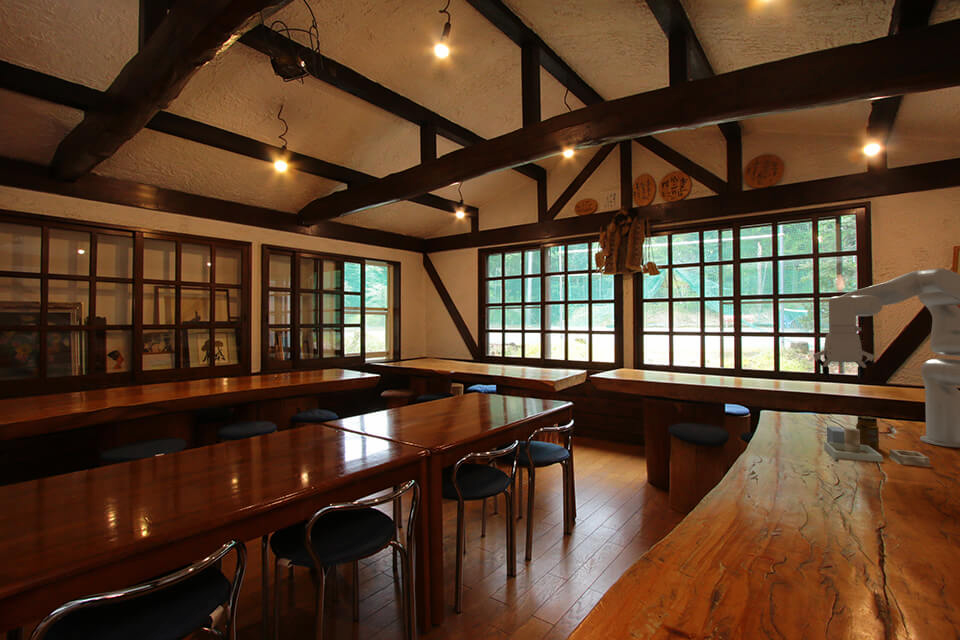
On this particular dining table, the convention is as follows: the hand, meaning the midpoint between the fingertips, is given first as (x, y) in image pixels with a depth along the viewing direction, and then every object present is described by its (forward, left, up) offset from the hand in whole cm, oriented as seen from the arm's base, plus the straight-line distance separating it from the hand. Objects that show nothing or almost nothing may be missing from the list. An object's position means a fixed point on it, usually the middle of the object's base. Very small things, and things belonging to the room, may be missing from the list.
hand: (843, 378), depth 156 cm
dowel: (0, +8, -26) cm, 27 cm away
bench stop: (+1, -3, -26) cm, 27 cm away
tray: (0, +8, -26) cm, 27 cm away
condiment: (-7, -3, -27) cm, 28 cm away
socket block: (-14, +10, -26) cm, 31 cm away
